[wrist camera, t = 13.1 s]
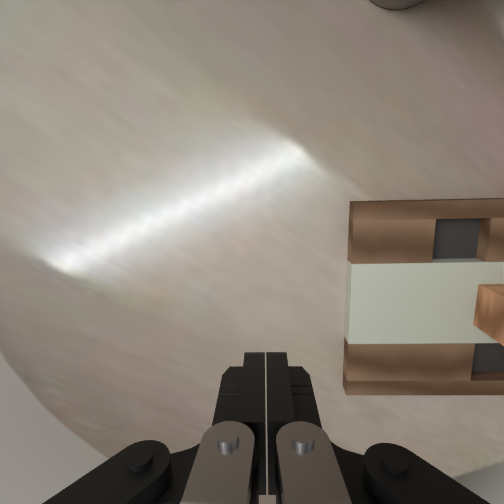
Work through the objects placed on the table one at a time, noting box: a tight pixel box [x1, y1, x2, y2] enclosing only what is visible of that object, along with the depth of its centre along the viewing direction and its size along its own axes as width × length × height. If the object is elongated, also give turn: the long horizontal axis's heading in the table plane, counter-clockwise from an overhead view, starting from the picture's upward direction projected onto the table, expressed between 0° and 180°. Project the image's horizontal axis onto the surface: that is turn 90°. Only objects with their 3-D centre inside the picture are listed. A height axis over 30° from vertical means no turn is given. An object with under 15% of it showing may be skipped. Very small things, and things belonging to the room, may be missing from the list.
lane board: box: [343, 198, 504, 395], centre depth 39 cm, size 24×28×4 cm
